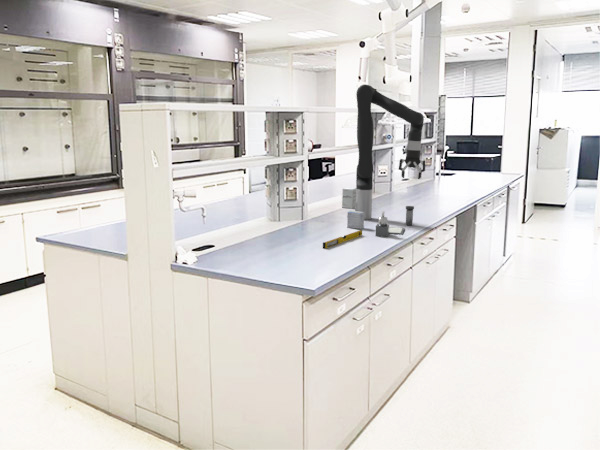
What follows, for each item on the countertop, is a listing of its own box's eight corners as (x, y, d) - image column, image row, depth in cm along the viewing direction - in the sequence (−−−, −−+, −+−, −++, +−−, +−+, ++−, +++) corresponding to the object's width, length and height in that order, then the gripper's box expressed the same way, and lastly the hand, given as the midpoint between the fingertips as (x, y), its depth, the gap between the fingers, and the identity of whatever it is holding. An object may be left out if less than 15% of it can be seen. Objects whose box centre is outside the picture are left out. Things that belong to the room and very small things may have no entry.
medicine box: (363, 227, 282) (364, 211, 280) (360, 229, 278) (361, 213, 276) (350, 226, 286) (350, 210, 284) (346, 227, 282) (347, 211, 280)
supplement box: (341, 207, 343) (342, 188, 340) (346, 206, 349) (346, 187, 347) (352, 208, 339) (352, 189, 337) (356, 207, 346) (357, 187, 343)
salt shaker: (404, 225, 287) (405, 207, 285) (405, 224, 291) (406, 205, 289) (412, 226, 286) (413, 207, 284) (413, 224, 290) (414, 206, 288)
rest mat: (380, 233, 269) (380, 232, 268) (383, 227, 282) (383, 226, 282) (402, 234, 266) (402, 233, 265) (404, 229, 279) (404, 227, 279)
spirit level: (359, 235, 264) (359, 229, 264) (362, 236, 264) (362, 230, 263) (322, 248, 238) (322, 242, 237) (325, 249, 237) (325, 242, 237)
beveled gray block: (375, 236, 262) (376, 212, 260) (377, 233, 268) (377, 210, 266) (387, 236, 261) (388, 213, 258) (388, 234, 266) (389, 210, 264)
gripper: (427, 149, 291) (424, 178, 295) (401, 147, 295) (399, 176, 299) (426, 150, 284) (423, 180, 288) (399, 148, 288) (397, 178, 292)
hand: (411, 178), depth 293 cm, fingers open, 8 cm apart
